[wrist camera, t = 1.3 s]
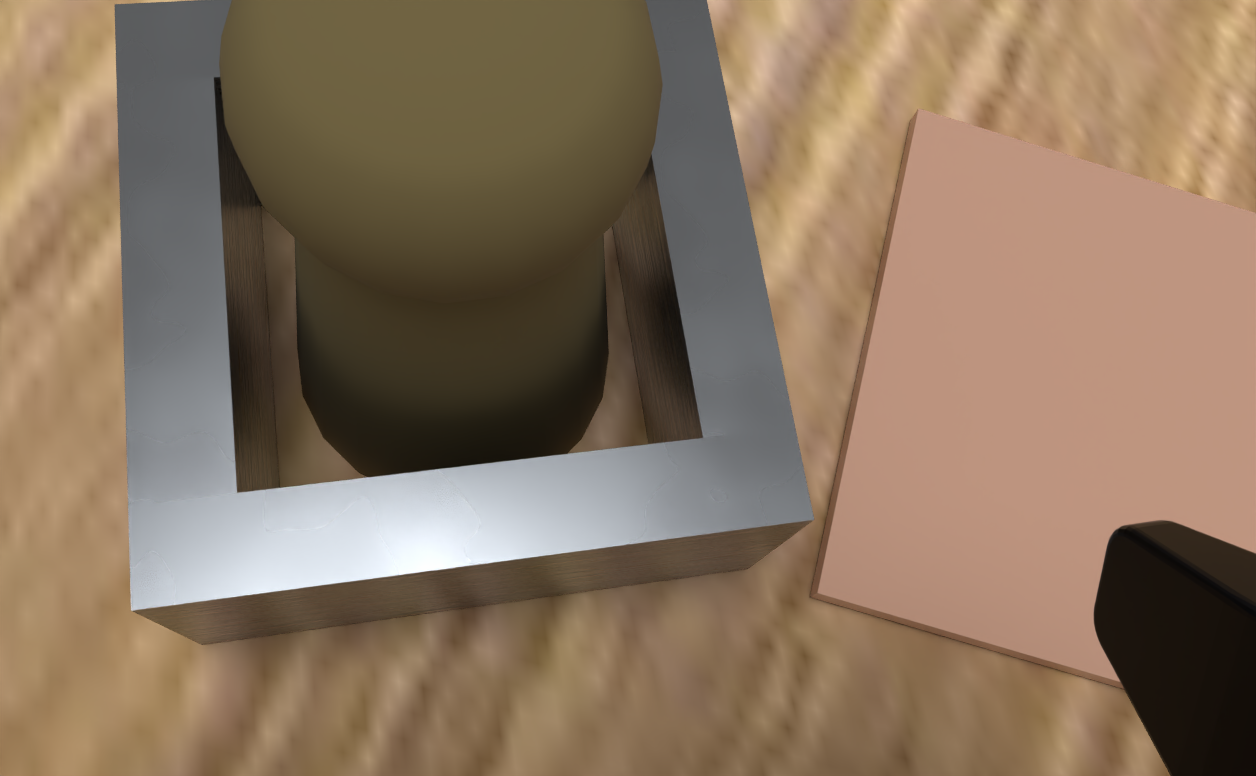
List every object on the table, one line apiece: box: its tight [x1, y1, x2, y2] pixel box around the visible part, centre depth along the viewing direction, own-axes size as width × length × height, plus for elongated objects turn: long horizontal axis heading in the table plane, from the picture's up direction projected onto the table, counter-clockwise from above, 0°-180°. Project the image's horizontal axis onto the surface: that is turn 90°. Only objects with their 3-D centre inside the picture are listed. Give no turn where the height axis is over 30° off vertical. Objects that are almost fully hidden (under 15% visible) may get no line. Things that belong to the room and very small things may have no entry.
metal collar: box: [115, 0, 814, 645], centre depth 20 cm, size 10×10×4 cm
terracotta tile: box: [810, 109, 1256, 689], centre depth 24 cm, size 11×11×1 cm
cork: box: [219, 0, 663, 477], centre depth 17 cm, size 6×6×11 cm
